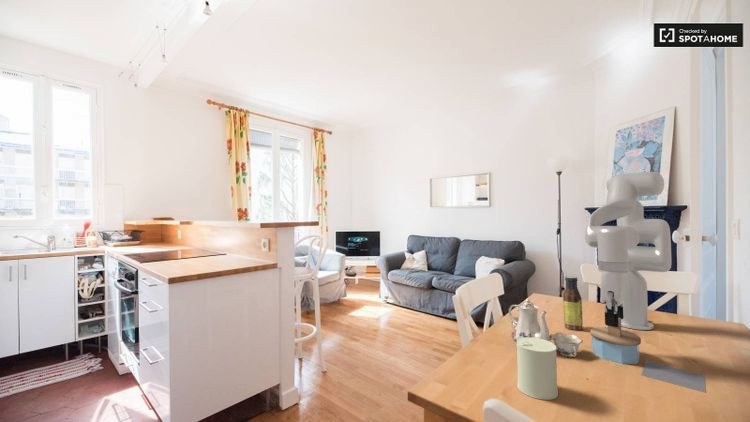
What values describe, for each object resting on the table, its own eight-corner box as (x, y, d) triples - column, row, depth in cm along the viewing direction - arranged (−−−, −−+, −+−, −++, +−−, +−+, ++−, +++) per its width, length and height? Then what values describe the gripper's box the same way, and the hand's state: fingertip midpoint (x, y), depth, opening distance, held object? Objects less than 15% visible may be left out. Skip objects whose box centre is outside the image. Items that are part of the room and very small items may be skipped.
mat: (645, 362, 93) (645, 360, 93) (704, 376, 84) (704, 374, 84) (641, 377, 84) (641, 374, 84) (705, 394, 76) (705, 392, 76)
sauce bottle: (585, 331, 118) (584, 279, 118) (567, 330, 119) (566, 278, 119) (578, 325, 124) (577, 275, 125) (561, 324, 125) (559, 275, 126)
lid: (594, 327, 105) (594, 309, 105) (642, 337, 96) (642, 317, 96) (586, 337, 96) (586, 318, 97) (638, 349, 88) (637, 328, 88)
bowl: (597, 346, 104) (597, 328, 104) (640, 357, 96) (640, 337, 96) (590, 357, 96) (589, 337, 96) (636, 369, 88) (635, 348, 88)
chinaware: (593, 363, 96) (595, 308, 97) (555, 368, 90) (558, 310, 91) (519, 332, 122) (521, 290, 123) (486, 334, 116) (489, 289, 117)
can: (510, 380, 83) (509, 335, 83) (542, 379, 84) (541, 334, 84) (530, 401, 74) (529, 350, 74) (566, 398, 75) (565, 348, 75)
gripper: (603, 262, 106) (605, 312, 105) (592, 269, 93) (593, 326, 93) (632, 264, 100) (633, 317, 100) (624, 272, 88) (625, 332, 88)
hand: (614, 321), depth 97 cm, fingers open, 9 cm apart
